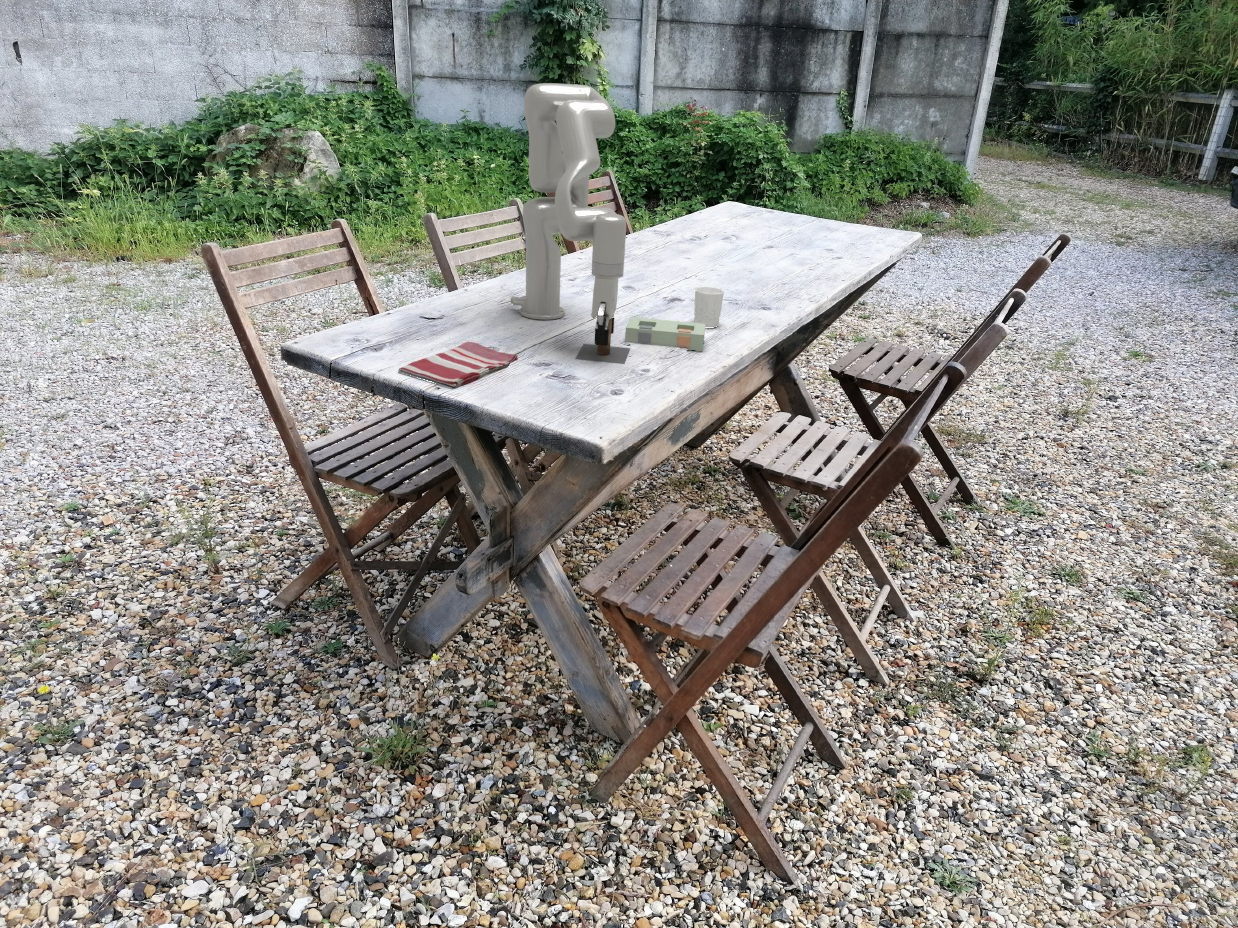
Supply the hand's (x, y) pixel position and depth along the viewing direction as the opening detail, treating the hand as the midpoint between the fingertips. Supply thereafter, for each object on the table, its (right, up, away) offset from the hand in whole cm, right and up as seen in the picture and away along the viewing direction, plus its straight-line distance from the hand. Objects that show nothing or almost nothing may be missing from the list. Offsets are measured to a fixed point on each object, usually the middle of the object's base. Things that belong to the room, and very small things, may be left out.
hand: (604, 338), depth 204 cm
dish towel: (-33, -9, -10) cm, 36 cm away
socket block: (+16, +1, +15) cm, 22 cm away
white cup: (+28, +8, +31) cm, 43 cm away
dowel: (0, -3, +2) cm, 4 cm away
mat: (0, -4, +2) cm, 5 cm away
